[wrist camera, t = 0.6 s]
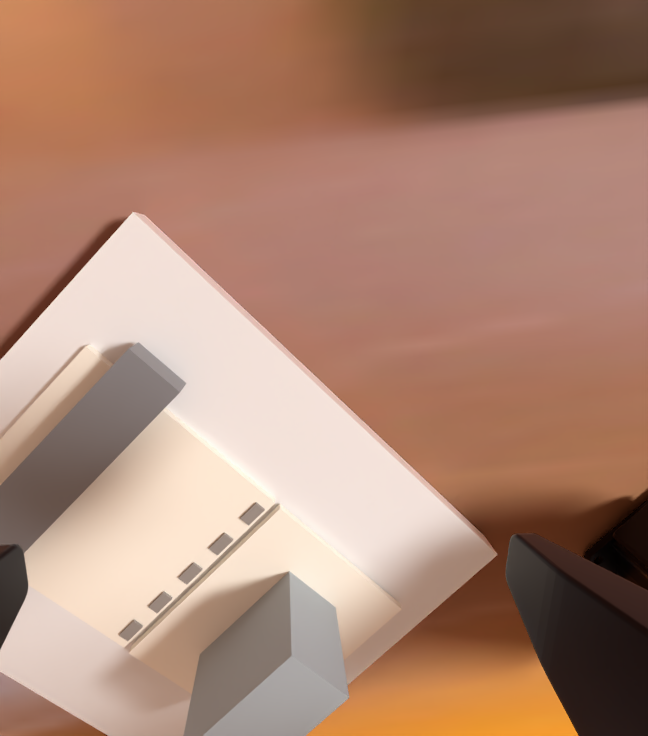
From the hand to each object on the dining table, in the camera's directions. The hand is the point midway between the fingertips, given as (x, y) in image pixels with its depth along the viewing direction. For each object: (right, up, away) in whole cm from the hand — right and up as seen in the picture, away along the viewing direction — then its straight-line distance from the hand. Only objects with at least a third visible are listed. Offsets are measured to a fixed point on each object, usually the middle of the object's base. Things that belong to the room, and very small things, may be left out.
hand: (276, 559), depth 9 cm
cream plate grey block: (-2, -9, +13) cm, 16 cm away
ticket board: (-6, -5, +14) cm, 16 cm away
